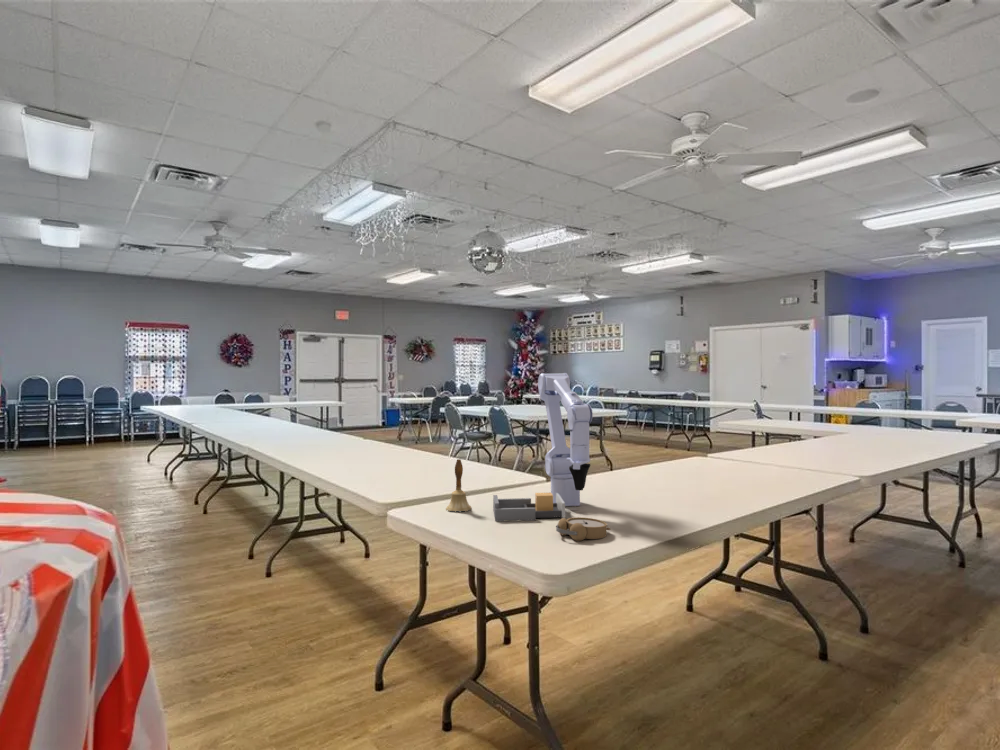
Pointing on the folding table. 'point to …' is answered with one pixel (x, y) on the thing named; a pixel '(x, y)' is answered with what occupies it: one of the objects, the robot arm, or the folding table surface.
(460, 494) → the hand bell
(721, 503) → the folding table surface
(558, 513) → the tray
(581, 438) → the robot arm
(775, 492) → the folding table surface
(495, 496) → the frame
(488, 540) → the folding table surface
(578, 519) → the alarm clock
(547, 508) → the block
